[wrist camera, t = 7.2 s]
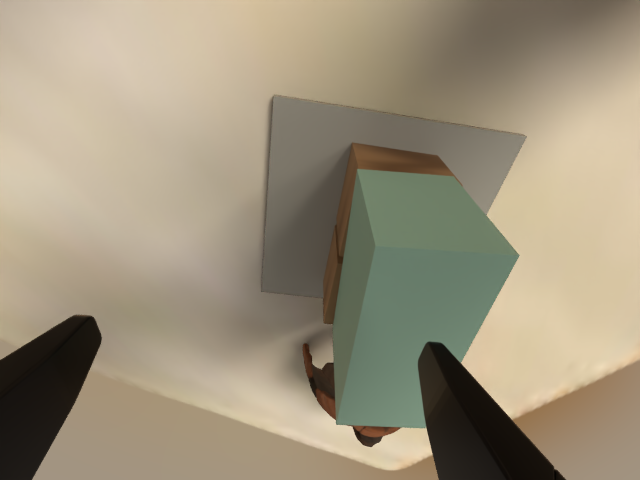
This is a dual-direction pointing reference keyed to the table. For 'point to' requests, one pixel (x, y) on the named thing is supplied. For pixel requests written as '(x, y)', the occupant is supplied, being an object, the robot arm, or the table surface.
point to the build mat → (330, 168)
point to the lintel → (409, 290)
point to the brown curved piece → (325, 395)
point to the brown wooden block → (332, 280)
